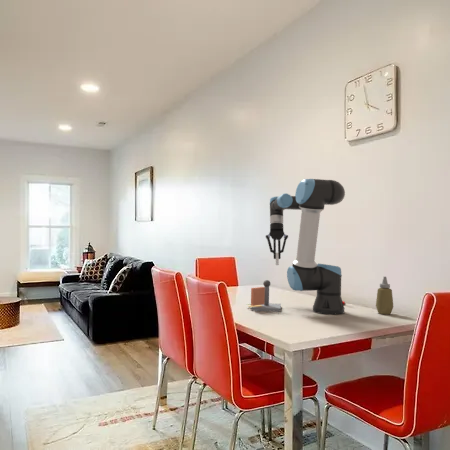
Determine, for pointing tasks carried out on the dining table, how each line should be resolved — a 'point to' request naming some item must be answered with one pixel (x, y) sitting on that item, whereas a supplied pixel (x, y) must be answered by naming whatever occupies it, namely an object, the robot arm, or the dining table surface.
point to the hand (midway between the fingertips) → (277, 264)
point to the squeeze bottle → (384, 298)
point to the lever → (260, 294)
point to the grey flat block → (266, 307)
